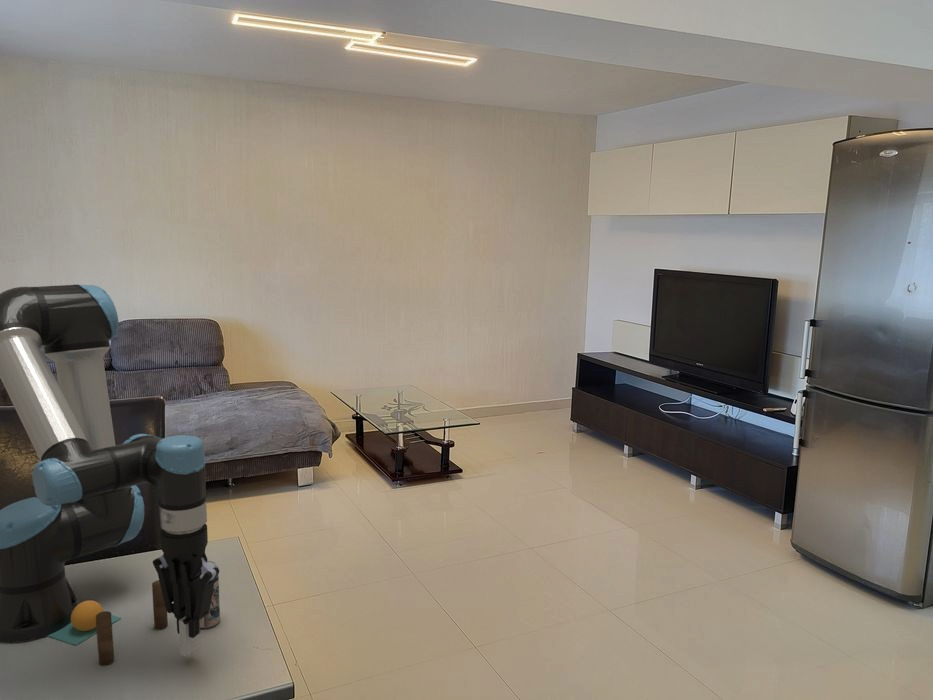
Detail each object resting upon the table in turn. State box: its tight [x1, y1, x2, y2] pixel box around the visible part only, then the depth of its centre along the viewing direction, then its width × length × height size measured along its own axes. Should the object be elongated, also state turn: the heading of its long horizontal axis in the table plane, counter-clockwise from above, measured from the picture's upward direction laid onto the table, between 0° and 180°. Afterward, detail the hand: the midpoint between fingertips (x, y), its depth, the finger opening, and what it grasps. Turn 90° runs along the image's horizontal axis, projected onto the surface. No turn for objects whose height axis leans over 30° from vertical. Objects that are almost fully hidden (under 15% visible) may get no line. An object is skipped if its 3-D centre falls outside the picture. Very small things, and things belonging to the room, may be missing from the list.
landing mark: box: [46, 614, 122, 647], centre depth 134 cm, size 10×10×1 cm
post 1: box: [96, 610, 115, 667], centre depth 122 cm, size 2×2×9 cm
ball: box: [71, 600, 104, 631], centre depth 132 cm, size 6×6×6 cm
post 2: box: [151, 579, 169, 631], centre depth 134 cm, size 2×2×9 cm
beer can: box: [199, 560, 221, 629], centre depth 135 cm, size 5×5×12 cm
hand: (189, 651), depth 124 cm, fingers closed
